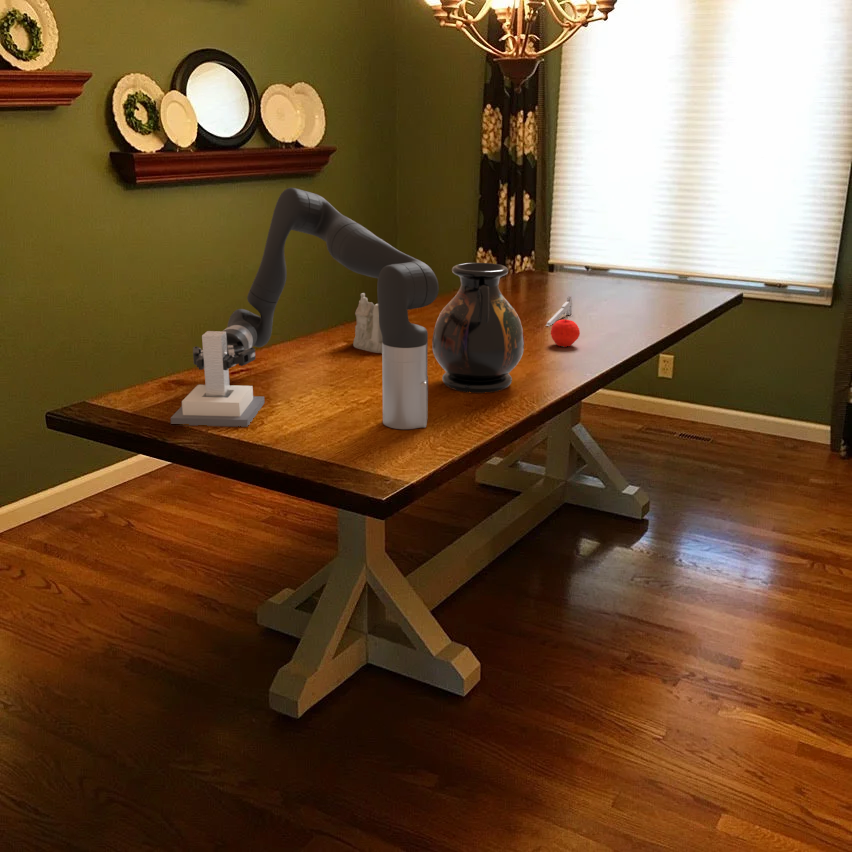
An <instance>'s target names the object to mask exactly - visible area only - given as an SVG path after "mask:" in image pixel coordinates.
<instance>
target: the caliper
mask: <svg viewBox="0 0 852 852" xmlns="http://www.w3.org/2000/svg"><path fill="white" fill-rule="evenodd" d="M570 314H571V315H572V314H573V298H572V296H571V295H568V296H567V297H566V301H565V302H564V303H563V304H562V305H561V308H560V309H558V311H556V312H555V313H554V315H553V316H552V317H551V318H550V319H549V320H548V321H547V322H546V324H545V326H549V327H551V326H550V325H552V324H554V323H555V322H556V321H558V320H559V319H560V317H562V316H563V315H566V316H567V315H570ZM552 326H553V325H552Z"/></svg>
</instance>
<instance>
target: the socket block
mask: <svg viewBox="0 0 852 852" xmlns="http://www.w3.org/2000/svg"><path fill="white" fill-rule="evenodd" d="M229 385H230V384H229ZM253 389H254V388H253V385H234V384H233V385H230V396H229V397H228V398H220V397H206V384H197V385H196V386H195V387H194V388H193V389H192V390H191V391H190V392H189V393H188V394H187V395H186V396H185V398H184V399H182V400H181V406H180V407H179V409H178V410H177V411H176V412H175V413H173V415H172V416H171V417H170V425H171V424H189V425H188V426H198V425H207V426H206V427H236V428H237V427H238V426H239V427H240V426H241V427H243V428H245V427H246V428H247V427H249V426H250V424H251V423H252V421H253V420H254V419H253V418H256V416H257V414H258V413H259V412H258V411H260V410H261V409H262V407H263V406H264V404H265V396H264V395H263V396H260V395H259V396H255V395H254V390H253ZM250 422H251V423H250ZM248 425H249V426H248Z"/></svg>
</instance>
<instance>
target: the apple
mask: <svg viewBox="0 0 852 852" xmlns="http://www.w3.org/2000/svg"><path fill="white" fill-rule="evenodd" d="M550 328H551V329H550V335H551V340H553V342H554V344H555V345H556V346H558V347H560V346H564V347H563V348H568V347H571V346H572V345H573V344H574V343H575V342H576V341H577V340H578V339H579V337H580V333H581V332H580V328H579V326H578V324H577V323H576V322H575V321H573V320H570V319H558V320H557V321H556V322H555V323H554V324H553V325H552V326H551V327H550ZM567 346H568V347H567Z"/></svg>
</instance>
